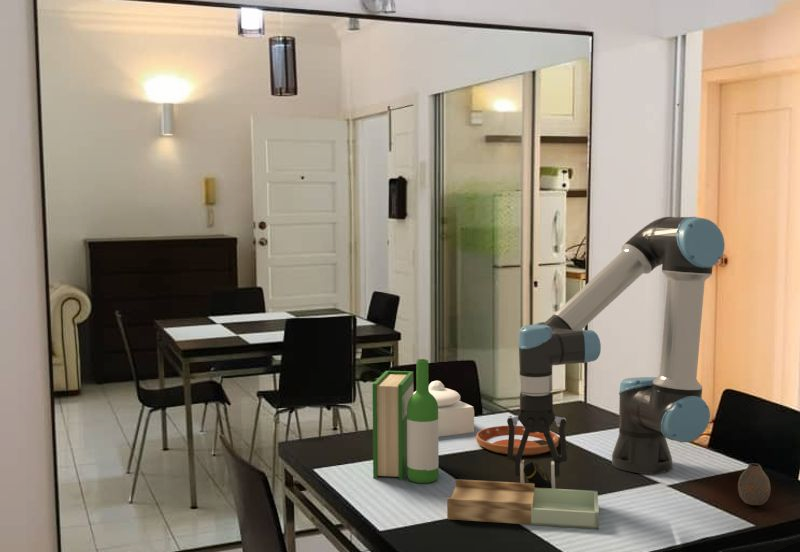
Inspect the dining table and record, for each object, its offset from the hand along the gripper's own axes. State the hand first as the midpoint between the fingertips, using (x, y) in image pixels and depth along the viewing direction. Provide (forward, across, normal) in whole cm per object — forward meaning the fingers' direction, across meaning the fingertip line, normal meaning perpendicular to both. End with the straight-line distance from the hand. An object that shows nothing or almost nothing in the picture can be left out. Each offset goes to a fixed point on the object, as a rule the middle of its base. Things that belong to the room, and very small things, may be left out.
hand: (537, 489), depth 206 cm
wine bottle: (+1, +29, -8) cm, 30 cm away
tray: (+2, -6, +12) cm, 14 cm away
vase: (+3, -48, -5) cm, 49 cm away
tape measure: (+1, 0, 0) cm, 1 cm away
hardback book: (+1, +37, -15) cm, 40 cm away
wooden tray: (+1, +10, +12) cm, 15 cm away
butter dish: (+2, +33, -54) cm, 63 cm away
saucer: (+2, +8, -42) cm, 42 cm away
